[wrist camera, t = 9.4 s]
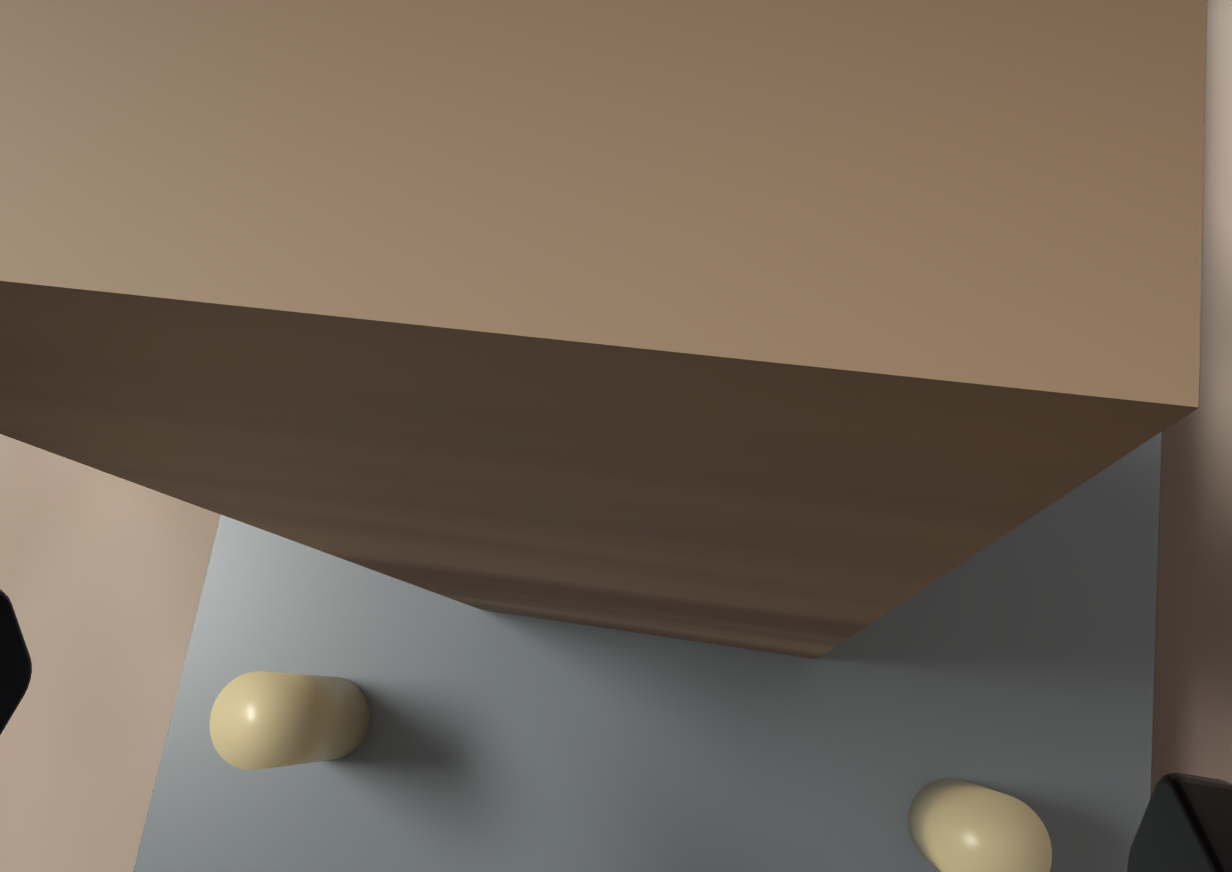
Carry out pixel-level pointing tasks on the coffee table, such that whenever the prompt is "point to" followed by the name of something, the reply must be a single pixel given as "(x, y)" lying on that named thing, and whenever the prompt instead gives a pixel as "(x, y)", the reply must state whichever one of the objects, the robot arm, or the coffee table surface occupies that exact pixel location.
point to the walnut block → (607, 282)
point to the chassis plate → (671, 722)
